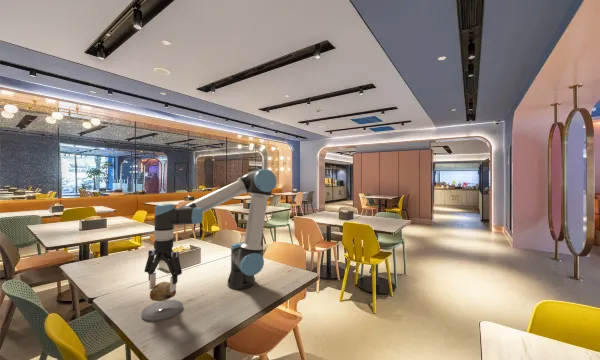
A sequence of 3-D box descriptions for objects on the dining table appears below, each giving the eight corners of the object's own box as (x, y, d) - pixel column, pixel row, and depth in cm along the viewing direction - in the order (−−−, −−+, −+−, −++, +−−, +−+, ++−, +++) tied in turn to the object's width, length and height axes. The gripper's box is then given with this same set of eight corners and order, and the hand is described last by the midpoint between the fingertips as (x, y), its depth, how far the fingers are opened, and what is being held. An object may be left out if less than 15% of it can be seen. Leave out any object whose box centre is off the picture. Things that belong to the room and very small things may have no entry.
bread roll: (154, 311, 105) (159, 296, 103) (143, 295, 110) (147, 280, 108) (177, 302, 113) (182, 288, 112) (165, 287, 118) (170, 273, 117)
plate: (190, 304, 117) (190, 301, 117) (164, 323, 101) (164, 320, 101) (161, 300, 121) (161, 297, 121) (131, 318, 105) (131, 315, 105)
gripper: (191, 238, 112) (190, 289, 112) (149, 235, 117) (148, 283, 117) (180, 242, 105) (178, 296, 105) (135, 239, 110) (134, 290, 110)
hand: (162, 289), depth 111 cm, fingers closed on bread roll, 10 cm apart
